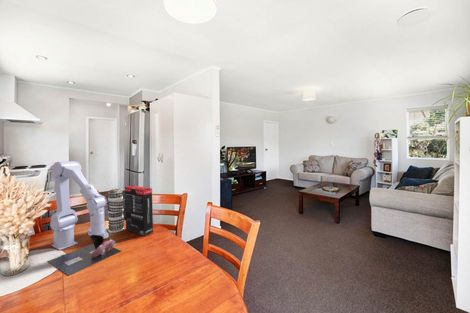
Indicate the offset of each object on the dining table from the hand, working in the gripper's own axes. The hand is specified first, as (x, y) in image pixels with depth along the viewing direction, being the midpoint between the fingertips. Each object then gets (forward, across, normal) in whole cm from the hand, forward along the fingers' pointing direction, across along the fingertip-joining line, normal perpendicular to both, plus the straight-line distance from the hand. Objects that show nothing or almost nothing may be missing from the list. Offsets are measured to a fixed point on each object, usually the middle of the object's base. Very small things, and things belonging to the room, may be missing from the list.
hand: (98, 249), depth 101 cm
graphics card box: (+2, -4, +25) cm, 25 cm away
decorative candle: (+2, -19, +20) cm, 27 cm away
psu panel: (+1, -1, -5) cm, 5 cm away
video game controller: (+1, +4, 0) cm, 4 cm away
